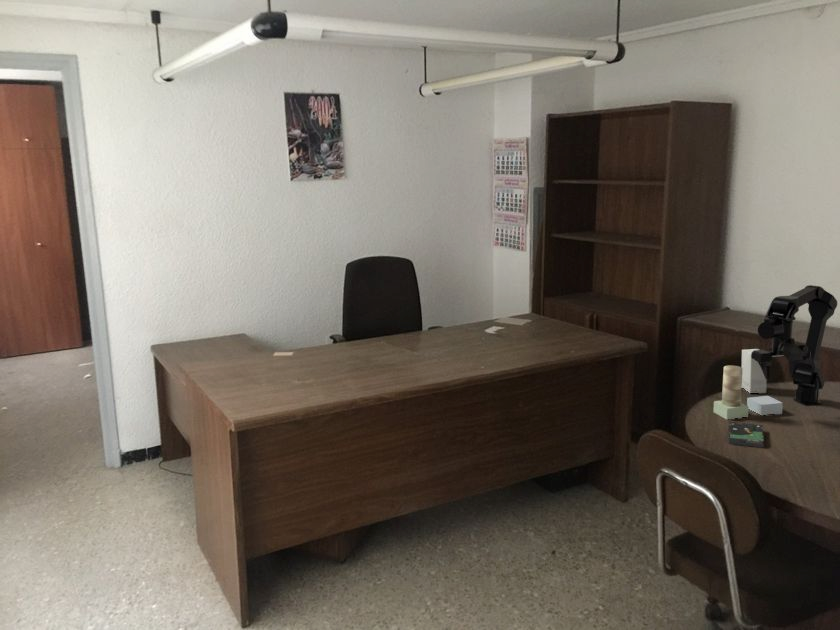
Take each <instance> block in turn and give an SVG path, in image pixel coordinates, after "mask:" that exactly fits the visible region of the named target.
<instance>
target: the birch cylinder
mask: <svg viewBox="0 0 840 630" xmlns="http://www.w3.org/2000/svg"><path fill="white" fill-rule="evenodd" d="M742 372H743V368H742V366H739V365H732V364H731V365H725V366H723V372H722V373H723V375H722V391H721V392H722V394H721V400H722V404H723V405H725V406H730V407H737V406H740V405H741V403H742Z"/></svg>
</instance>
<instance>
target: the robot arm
mask: <svg viewBox="0 0 840 630" xmlns="http://www.w3.org/2000/svg"><path fill="white" fill-rule="evenodd" d="M805 304H807V305H808V307H807V309H808V313H809V315H810V322H809V327H808V332H807V337H806V341H805V344H800V345H799V344H795V343H796V341H795V338H794V337H792V335H793V334H792V333H793V325H794V324H793V322H794V321H795V320H796V319H797V318H796V317H795V314H797V313H798V312H799V311H800V309H799V308H800V307H802V306H804V305H805ZM837 307H838V299H836V297H835V296H834V295H833V294H831V293H830V292H828V291H827V290H825V288H823V286H819V285H812V284H811V285H810V284H809V285H805V287H804V288H802V289H800V290H798V291H796V292H793V293H792V294H789V295H780V296H775V297H774V298H773V299H772V300H771V302H770V304H769V306H768V308H767V311H766V313H765V316H764V317H765V318H764V319H763V322H761V323H759V325H758V326H757V334H758V335H759V336H760V338H762V339H764V340H769V339H770V340H771V341H772V342H771V347H769V351H767V350H765V349H759V350H754V351H753V352H752V353H751V358H752V359H754V360H755V361H757V362H758V363H759V365H760V367H761V369H762V372H763V374H764V376H765V379H766V380H767V381H769V379H770V374H771V373H770V372H771V371H770V370H771V365H772V364H773V362H772V360H773V358H781V357H782V358H783V357H785V358H786V360H787V361H788V374H789V378H792V381H793V385H796V386H797V388H796V392H795V393H796V394H795V398H793V401H795V402H798V403H800V404H802V405H804V406H812V405H821V404H822V401H819V391H820V390H823V388H824V386H825V383H826V381H825V379H824V378H823V377H822V375H821V372H822V368H821V365H820V363H819V357H820V356H819V355H820V352H821V348H822V342H823V338H824V334H825V329H826V326H827V325H826V324H827V322H828V320H829V319H830V318H831V317H832V316H834V314H835V310H836V309H837Z"/></svg>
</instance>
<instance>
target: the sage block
mask: <svg viewBox="0 0 840 630" xmlns="http://www.w3.org/2000/svg"><path fill="white" fill-rule="evenodd" d="M712 412H713V413H714V414H715V415H718V416H720V417H721V418H723V419H725V420H728V419H729V420H736V419H735V418H738V419H743V418H742V417H747V418H749V406H747V404H745V403H743V402H741V405H740V406H737V407H730V406H725V405H723V404H722V399H721V400H714V401H713V411H712Z"/></svg>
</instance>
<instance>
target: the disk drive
mask: <svg viewBox="0 0 840 630" xmlns="http://www.w3.org/2000/svg"><path fill="white" fill-rule="evenodd" d="M764 437H765V436H764V426H763V424H754V423H738V422H736V421H729V422H728V435H727V445H734V446H735V445H736V446H744V447H746V446H747V447H751V446H753V448H760V447H764V446H765V438H764ZM764 448H765V447H764Z"/></svg>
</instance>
